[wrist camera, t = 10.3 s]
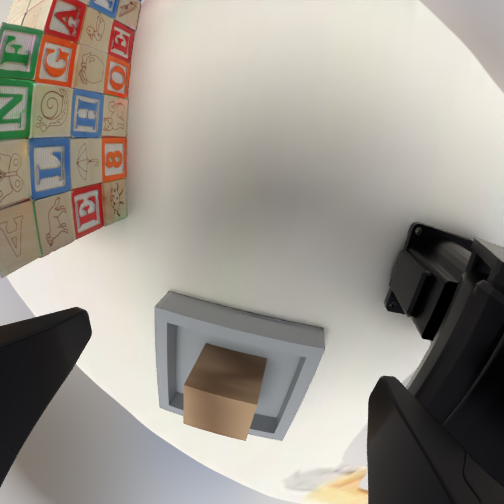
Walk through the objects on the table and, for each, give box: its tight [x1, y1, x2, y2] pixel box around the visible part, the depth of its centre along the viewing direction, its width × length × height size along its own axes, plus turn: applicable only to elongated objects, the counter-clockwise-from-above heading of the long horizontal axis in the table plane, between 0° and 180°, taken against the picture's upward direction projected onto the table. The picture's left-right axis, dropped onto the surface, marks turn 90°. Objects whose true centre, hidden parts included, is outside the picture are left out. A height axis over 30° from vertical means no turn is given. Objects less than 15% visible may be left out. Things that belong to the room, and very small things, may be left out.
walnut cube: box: [184, 343, 267, 441], centre depth 20 cm, size 5×5×5 cm
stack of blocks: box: [0, 0, 141, 278], centre depth 11 cm, size 21×6×12 cm, turn 178°
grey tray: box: [155, 292, 325, 441], centre depth 21 cm, size 12×12×2 cm
